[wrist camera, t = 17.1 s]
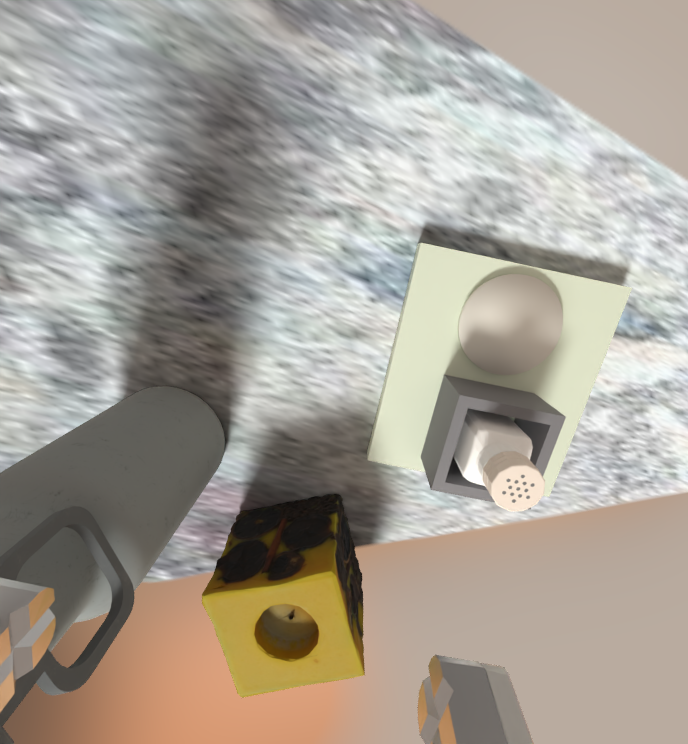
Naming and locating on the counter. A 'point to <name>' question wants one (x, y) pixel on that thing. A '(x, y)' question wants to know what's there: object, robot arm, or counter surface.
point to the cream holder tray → (490, 360)
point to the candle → (289, 597)
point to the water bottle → (102, 517)
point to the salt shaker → (499, 460)
